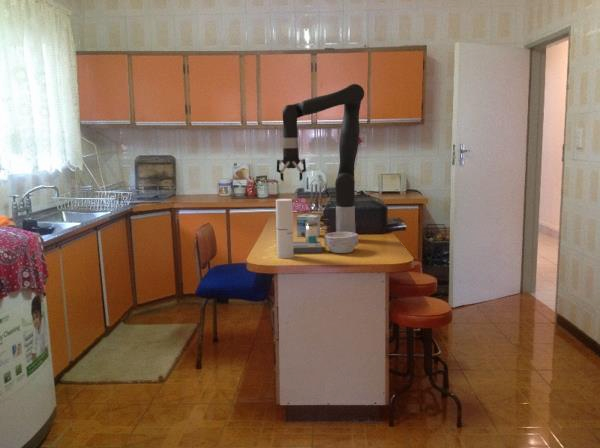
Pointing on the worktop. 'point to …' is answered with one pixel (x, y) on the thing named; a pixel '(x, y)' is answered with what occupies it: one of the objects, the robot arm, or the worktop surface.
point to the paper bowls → (341, 241)
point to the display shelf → (307, 247)
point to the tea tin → (311, 233)
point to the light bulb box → (302, 222)
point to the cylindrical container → (284, 228)
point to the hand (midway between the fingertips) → (291, 180)
